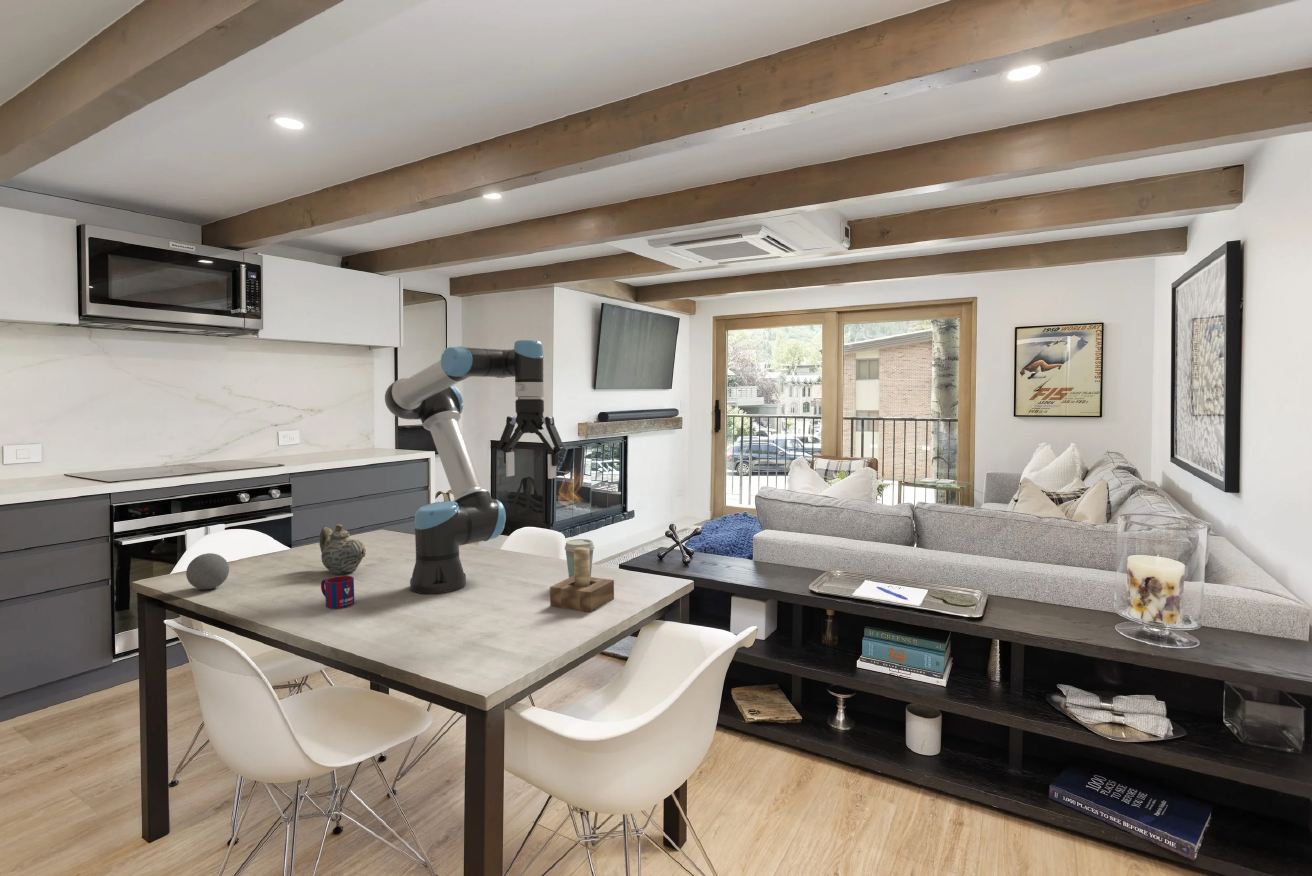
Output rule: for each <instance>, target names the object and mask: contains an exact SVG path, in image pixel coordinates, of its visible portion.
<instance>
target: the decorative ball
mask: <svg viewBox="0 0 1312 876" xmlns="http://www.w3.org/2000/svg"><path fill="white" fill-rule="evenodd" d="M185 573H186V576H185V577H186V579H187V581H188V583H189V584H190V585H192V587H194V588H196V589H199V590H203V591H204V590H213V589H215V588H217V587H220V586H221V585H222V584H223V583H225V581H226V580H227V579H228V576H229V573H230V566H229V563H228V561H227V560H226V559H225V558H224V557H223V556H222V555H220V554H217V553H213V552H212V553H211V552H210V553H209V552H208V553H203V554H200V555H197V556H196V557H194V558H193V559H192V560H191V561H190V562H189V564H188V565H187V567H186V572H185Z"/></svg>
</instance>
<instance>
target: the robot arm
mask: <svg viewBox="0 0 1312 876" xmlns="http://www.w3.org/2000/svg"><path fill="white" fill-rule="evenodd" d="M470 377H472V378H473V377H476V378H477V377H480V378H481V377H487V378H488V377H489V378H498V379H499V378H501V379H504V378H512V377H513V378H514V385H515V386H514V388H515V389H514V390H515V392H514V393H515V395H514V396H515V398H517V399H515V400H514V401H515V412H516V416H515V415H508V416H507V417H506V418H505V419H506V420H505V421H506V422H505V426H504V428H503V431H502V434H501V437H500V439H499V441H498V444H497V448H496V449H497V450H499V451H502V452H503V462H504V464H505V465H506V466H505V471H506V472H505V475H506V477H513V476H515V473H516V472H515V451H514V450H513V449H514V448H515V446H516V445H517V444H518V442H519V440H520V439H521V437H522V436H523V435H524V434H535V435H537V436H538V438H539V439H540V440H541V442H542V443H543V444H544V446H545V448H546V449H547V450H548V451H549V453H548V454H547V478H548V480H549V479H550V480H551V479H557V467H558V466H559V454H560V453H561V452H564V451H565V449H566V448H565V446H564V443H563V441H562V439H561V437H560V435H559V432H558V429H557V427H556V425H555V418H554V416H545V417H544V412H545V400H544V399H542V398H544V396H545V392H544V391H545V388H544V385H545V384H544V350H543V343H542V342H541V341H540V340H536V339H535V340H534V339H533V340H532V339H531V340H530V339H522V340H521V339H520V340H519V339H518V340H515V342H514V347H513V348H512V349H496V348H477V347H468V346H467V347H465V346H449V347H447V348H445V349H444V350H443V353H442V354H441V356H440V360H438V361H437V362H435V363H433V364H431V365H430V366H428V367H426V368H424V369H421V371H419V372H417V373H416V374H413V375H412V376H410V377H402V378H399V379H397V380H395V381H394V382H393V383H391V384H389V386H388V387H387V388H386V391H385V394H384V403H385V405H386V406H385V407H386V408H387V410H389V412H391V414H392V415H394V416H395V417H397V418H399V419H402V420H420V421H421V424H422V426H423V428H424V429H425V430H427V431H429V432H430V434H431V437H432V439H433V443H434V445H435V448H436V451H437V453H438V457H439V458H440V462H441V465H442V467H443V469H444V473H445V475H446V479H447V482H448V484H449V487H450V489H451V492H452V495H453V500H444V501H436V502H432V503H428V504H426V505H425V504H424V505H422V506H421V507H419V508H418V509H417V510H416V512H415V514H414V523H413V527H414V533H415V535H414V537H415V539H414V541H415V564H414V567H413V571H412V576H411V578H410V580H409V589H410V591H412V592H413V593H417V594H427V595H429V594H430V595H431V594H443V593H448V592H453V591H454V592H455V591H457V590H461V589H462V588H465V586H466V585H467V575H466V573H465V572H464V569H463V565H462V562H461V559H460V546H464V545H470V544H475V543H480V542H487V541H489V540H493V539H496V538H498V537H499V536H500V535H501V534H502V533H503V531H504V529H505V526H506V525H505V524H506V519H507V516H506V509H505V507H504V505H503V503H502V502H501V501H500V500H499V499H495V498H492V496H491V493H490V491H489V490H487V489H485V488H483V487H482V484H481V481H480V479H479V476H478V473H477V470H476V467H475V466H474V462H473V459H472V458H471V457H472V456H471V454H470V451H469V449H468V447H467V443H466V440H465V439H464V436H463V435H464V434H463V433H462V431H461V428H460V425H459V421H460V419H461V414H462V412H463V409H464V408H463V407H464V405H463V404H462V403H464V400H463V396H462V393H461V392H460V390H459V388H458V387H457V386H456V384H458V383H459V382H462V381H464V380H466V379H468V378H470ZM516 424H517V425H516ZM543 425H545V427H544V426H543ZM515 426H516V428H515ZM513 431H514V432H513Z"/></svg>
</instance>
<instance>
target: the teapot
mask: <svg viewBox="0 0 1312 876" xmlns="http://www.w3.org/2000/svg"><path fill="white" fill-rule="evenodd" d="M343 528H344V525H342V524H341V523H337V524H336V525H335V529H334V530H332V529H331V528H330V527H327V526H325V527H322V529H321V531H320V533H319V543H318V544H319V548H320V552H321V556H320V557H321V558H320V559H321V562H322V564H323V566H324V567H325V568H326V569H327V570H328V571H329V573H330V572H331V573H333V574H336V575H342V574H343V573H344V574H349V573H353V572H355V571H356V570H357V568H358V567H359V566H360V564H361V562H362V560H363V558H364V557H366V554H367V553H366V552H367V550H366V547H365V544H364V542H362V541H361V540H359V539H355V538H354V539H352V538H350V532H349V531H348V530H346V529H343Z"/></svg>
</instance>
